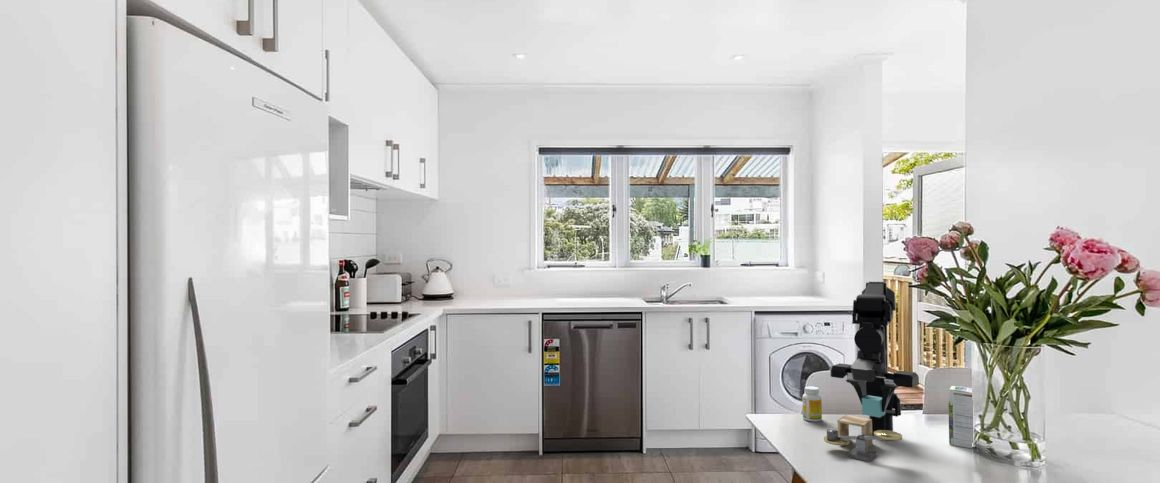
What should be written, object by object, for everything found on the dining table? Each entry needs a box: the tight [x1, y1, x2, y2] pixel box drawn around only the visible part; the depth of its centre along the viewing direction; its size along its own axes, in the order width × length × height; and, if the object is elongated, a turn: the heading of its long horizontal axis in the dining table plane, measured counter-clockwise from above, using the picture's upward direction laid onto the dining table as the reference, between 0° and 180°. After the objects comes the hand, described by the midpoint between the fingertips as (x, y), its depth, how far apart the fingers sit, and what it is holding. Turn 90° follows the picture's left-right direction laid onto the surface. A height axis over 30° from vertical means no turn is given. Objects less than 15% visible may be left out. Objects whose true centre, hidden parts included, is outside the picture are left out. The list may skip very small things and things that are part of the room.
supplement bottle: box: [801, 385, 823, 422], centre depth 169 cm, size 5×5×10 cm
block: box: [861, 395, 885, 418], centre depth 137 cm, size 4×4×4 cm
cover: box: [837, 414, 874, 449], centre depth 147 cm, size 6×6×6 cm
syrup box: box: [948, 385, 973, 449], centre depth 145 cm, size 6×6×14 cm
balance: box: [823, 428, 903, 463], centre depth 138 cm, size 6×18×7 cm, turn 46°
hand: (874, 410), depth 137 cm, fingers closed on block, 4 cm apart
